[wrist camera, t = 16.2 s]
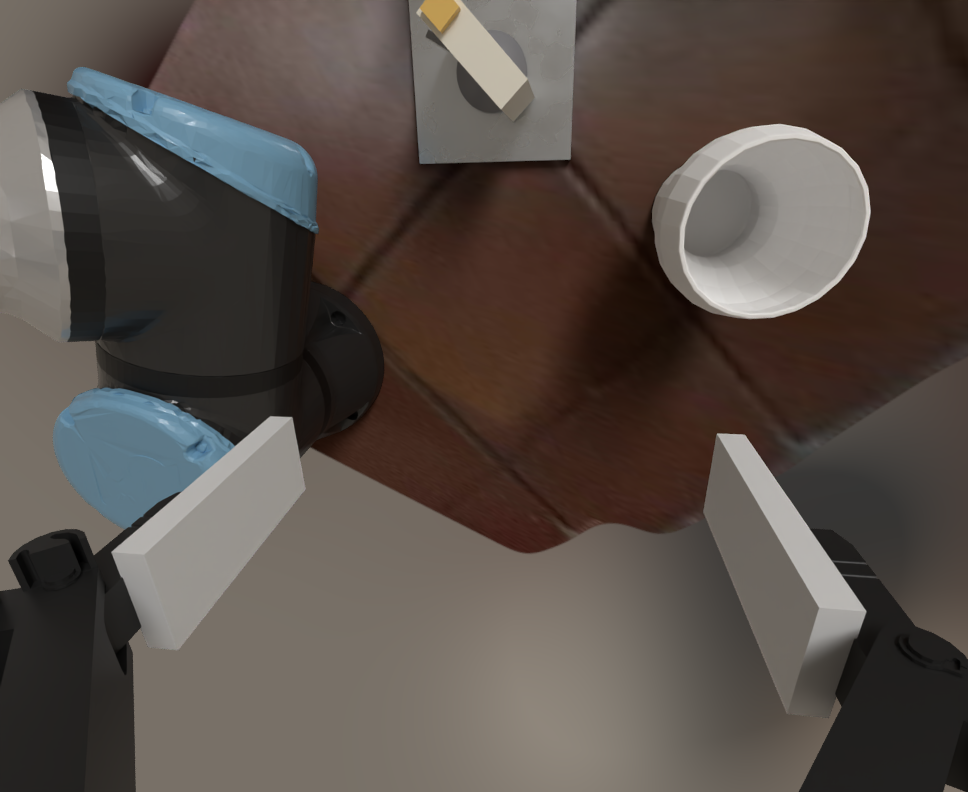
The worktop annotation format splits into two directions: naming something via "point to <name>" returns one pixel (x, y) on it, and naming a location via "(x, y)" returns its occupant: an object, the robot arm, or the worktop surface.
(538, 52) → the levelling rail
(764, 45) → the worktop surface
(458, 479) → the worktop surface
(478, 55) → the slab with yellow pad
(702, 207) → the cup
